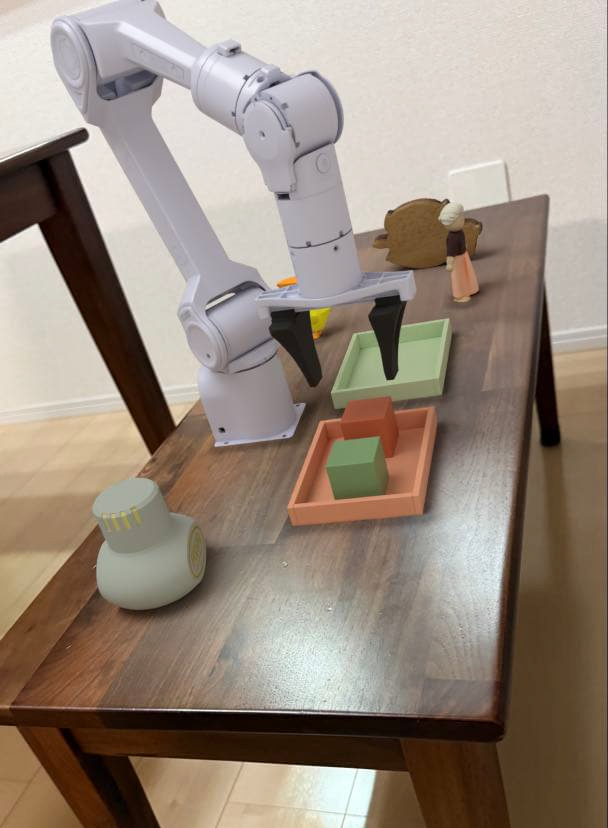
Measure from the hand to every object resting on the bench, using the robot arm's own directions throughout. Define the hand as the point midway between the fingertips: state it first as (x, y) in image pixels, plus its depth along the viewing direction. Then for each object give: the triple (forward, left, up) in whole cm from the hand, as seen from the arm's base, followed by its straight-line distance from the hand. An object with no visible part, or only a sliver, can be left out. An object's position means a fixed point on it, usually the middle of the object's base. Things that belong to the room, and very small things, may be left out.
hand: (353, 378), depth 80 cm
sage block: (0, -6, -9) cm, 11 cm away
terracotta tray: (0, -3, -9) cm, 10 cm away
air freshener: (-17, -18, -10) cm, 26 cm away
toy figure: (-13, +34, -10) cm, 38 cm away
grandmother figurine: (+7, +40, -10) cm, 42 cm away
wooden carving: (+1, +56, -10) cm, 57 cm away
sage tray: (0, +20, -9) cm, 22 cm away
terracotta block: (0, +2, -9) cm, 9 cm away
